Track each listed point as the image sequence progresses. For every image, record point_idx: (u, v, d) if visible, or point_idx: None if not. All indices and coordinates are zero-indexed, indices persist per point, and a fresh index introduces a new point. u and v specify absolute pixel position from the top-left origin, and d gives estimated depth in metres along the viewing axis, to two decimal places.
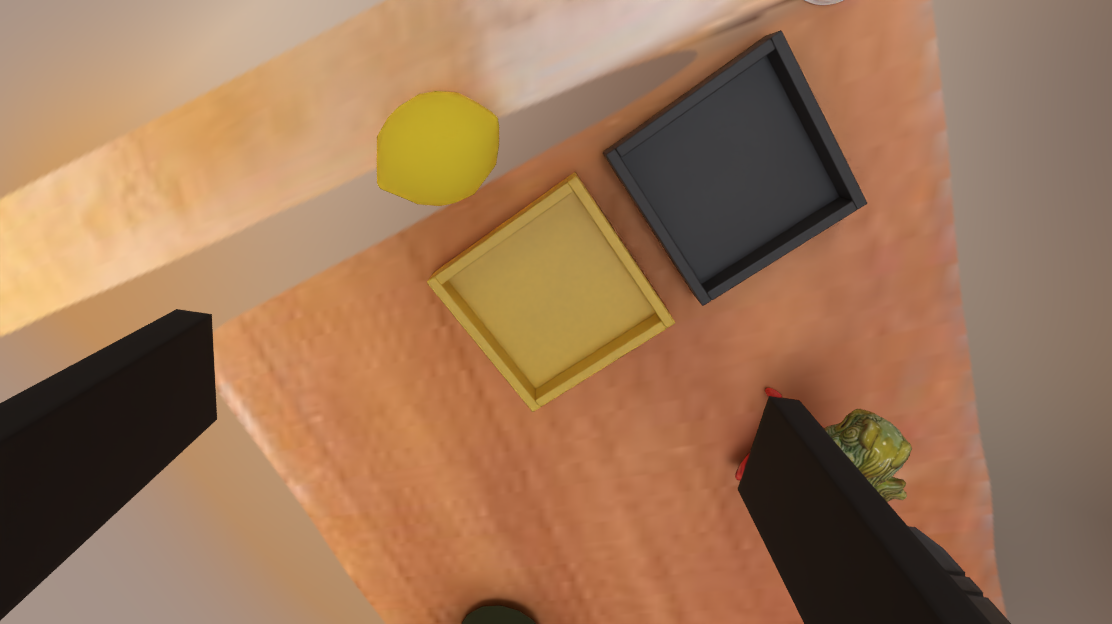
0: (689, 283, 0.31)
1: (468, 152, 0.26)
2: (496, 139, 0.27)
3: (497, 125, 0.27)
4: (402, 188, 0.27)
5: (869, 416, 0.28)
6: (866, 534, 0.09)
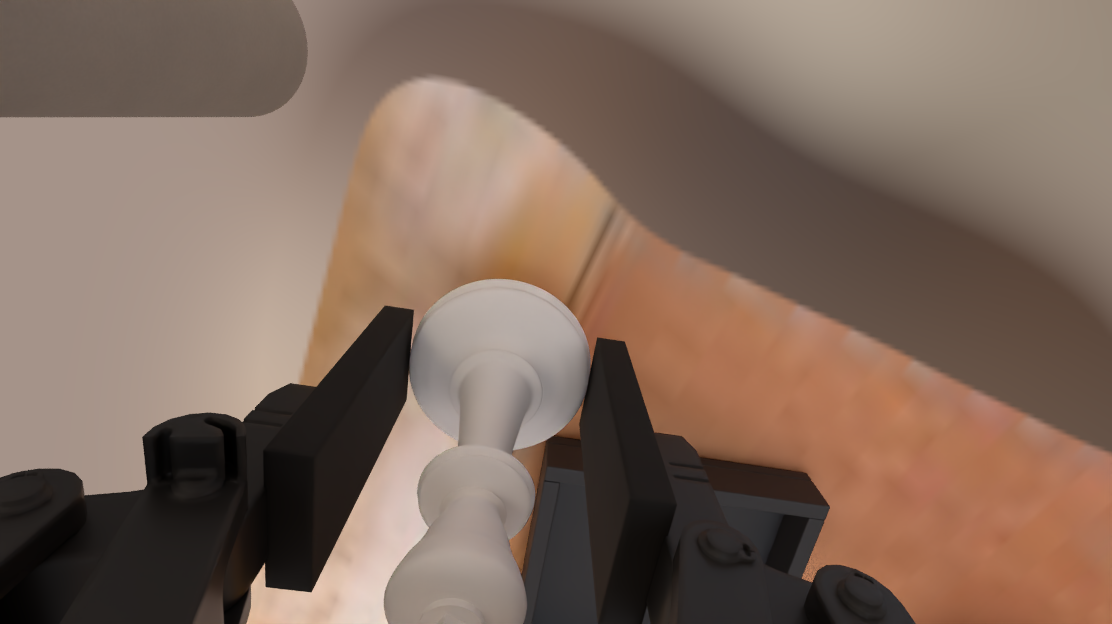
0: None
1: None
2: None
3: None
4: None
5: None
6: (614, 432, 0.11)
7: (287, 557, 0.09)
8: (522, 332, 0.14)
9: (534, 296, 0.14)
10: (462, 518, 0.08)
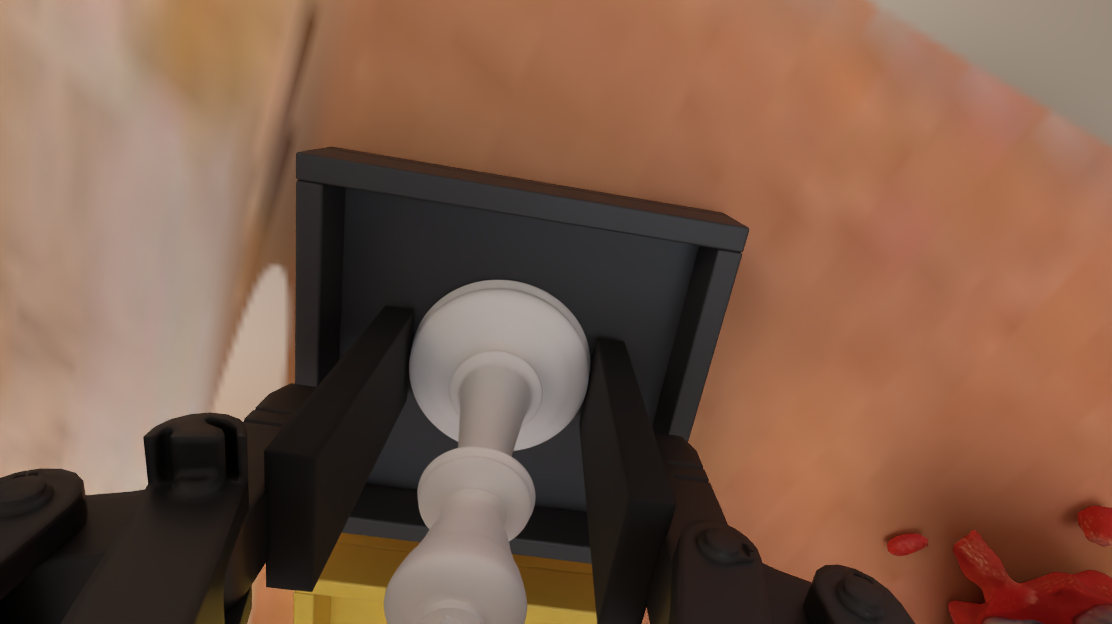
0: None
1: None
2: None
3: None
4: None
5: None
6: (614, 432, 0.11)
7: (288, 557, 0.09)
8: (522, 333, 0.14)
9: (534, 297, 0.14)
10: (462, 520, 0.08)
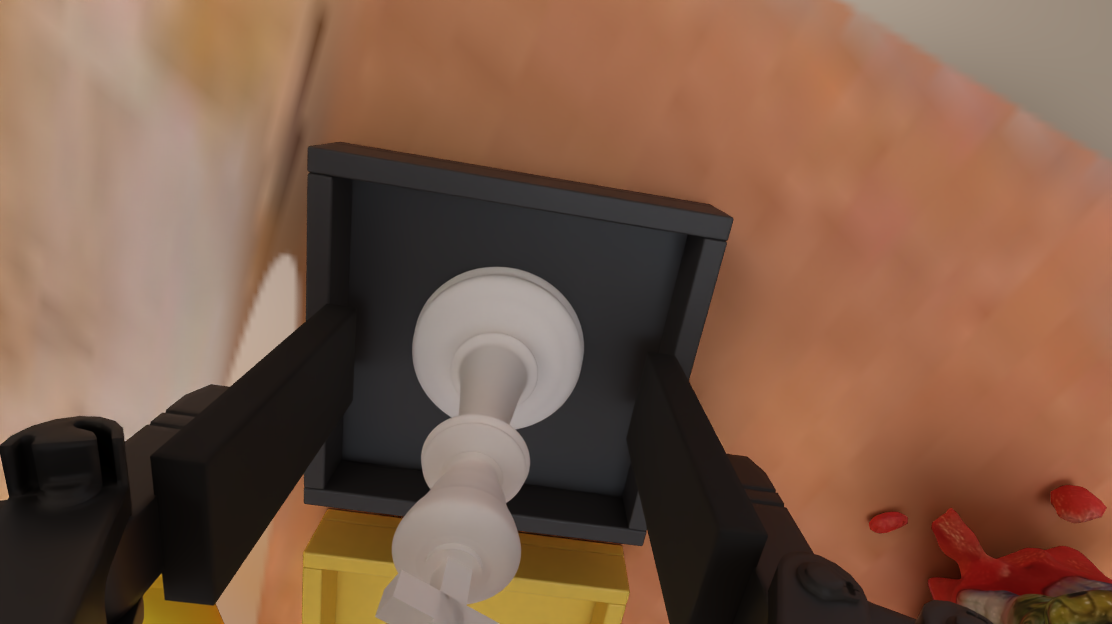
0: (591, 538, 0.17)
1: None
2: None
3: None
4: None
5: None
6: (685, 454, 0.10)
7: (185, 569, 0.08)
8: (519, 316, 0.15)
9: (530, 282, 0.15)
10: (462, 476, 0.09)
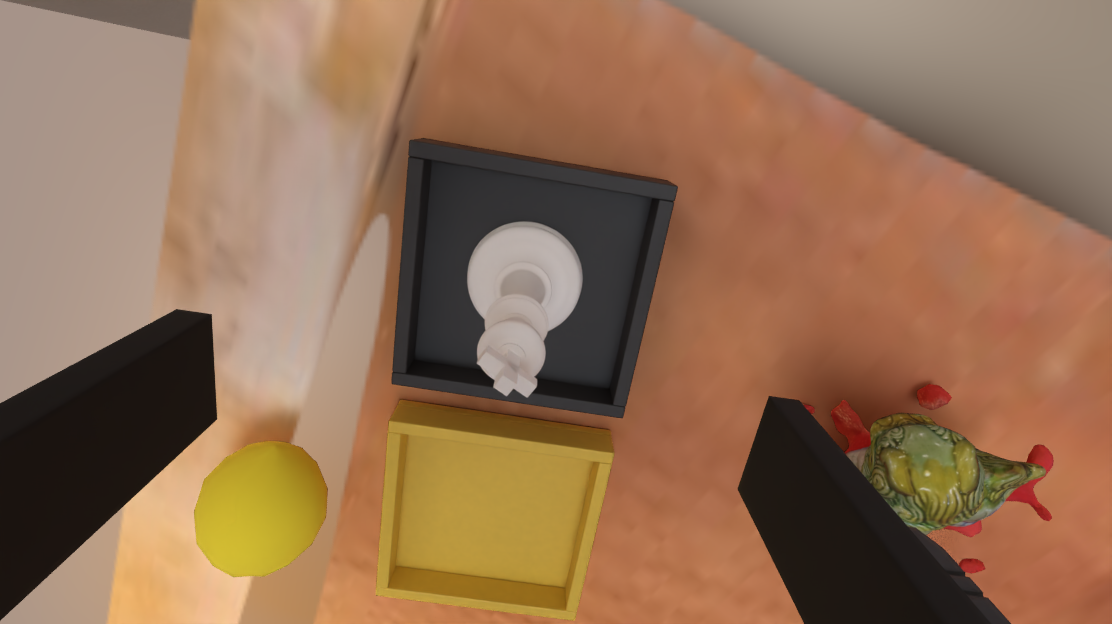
0: (587, 411, 0.24)
1: (263, 514, 0.23)
2: (287, 466, 0.24)
3: (278, 453, 0.24)
4: None
5: (884, 443, 0.18)
6: (866, 534, 0.09)
7: None
8: (539, 253, 0.22)
9: (547, 231, 0.22)
10: (512, 318, 0.17)
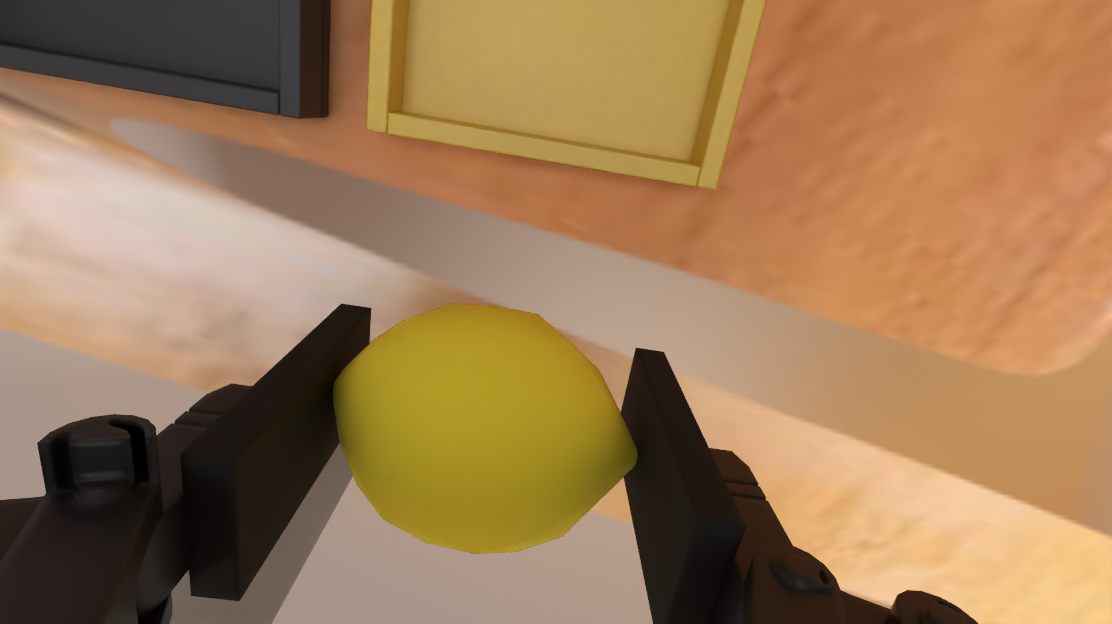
0: None
1: (395, 425, 0.10)
2: (356, 364, 0.11)
3: (339, 377, 0.12)
4: (589, 463, 0.11)
5: None
6: (668, 448, 0.10)
7: (212, 565, 0.09)
8: None
9: None
10: None
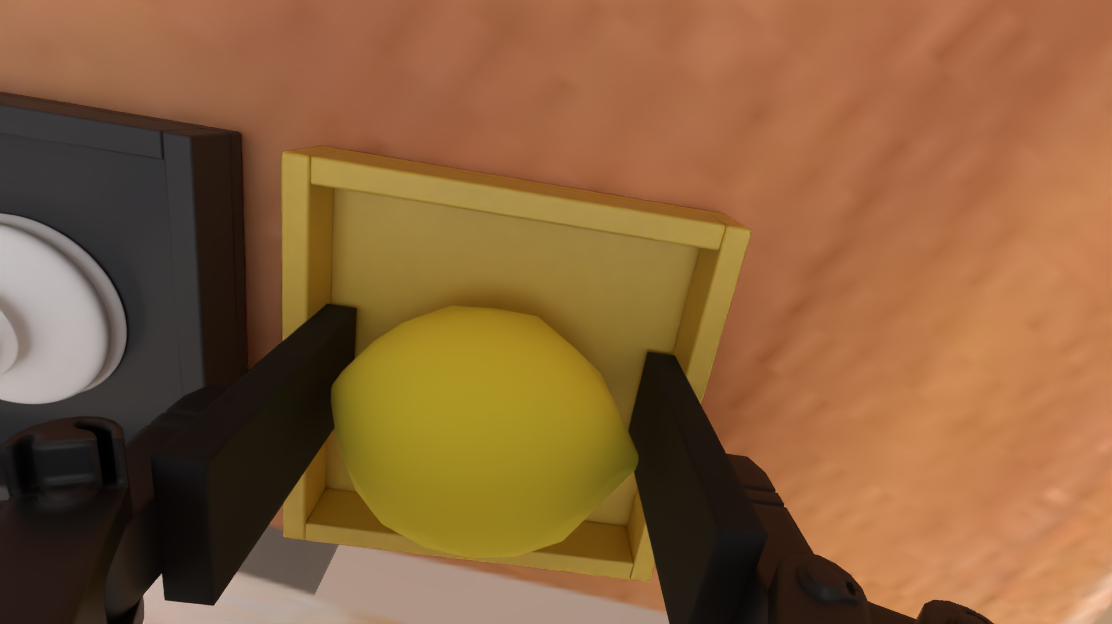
0: (192, 213, 0.12)
1: (394, 429, 0.10)
2: (354, 367, 0.11)
3: (338, 380, 0.12)
4: (590, 467, 0.11)
5: None
6: (685, 454, 0.10)
7: (185, 569, 0.08)
8: None
9: None
10: None
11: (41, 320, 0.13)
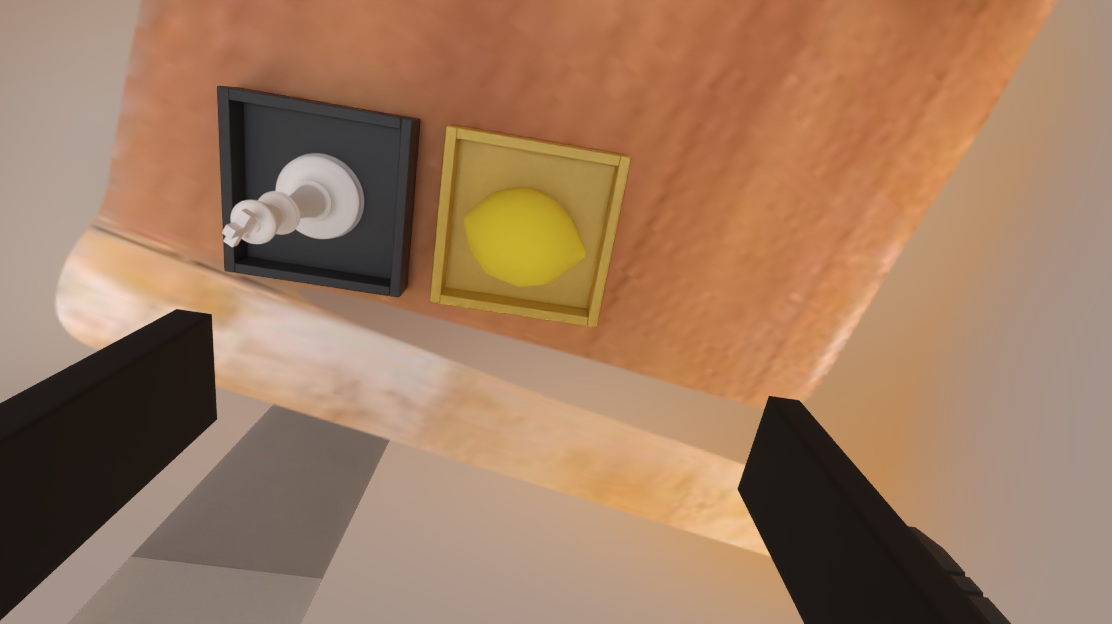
0: (408, 150, 0.30)
1: (494, 222, 0.28)
2: (475, 208, 0.29)
3: (467, 215, 0.30)
4: (565, 242, 0.29)
5: None
6: (866, 534, 0.09)
7: None
8: (288, 187, 0.31)
9: (277, 181, 0.31)
10: None
11: (338, 197, 0.31)
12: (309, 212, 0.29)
